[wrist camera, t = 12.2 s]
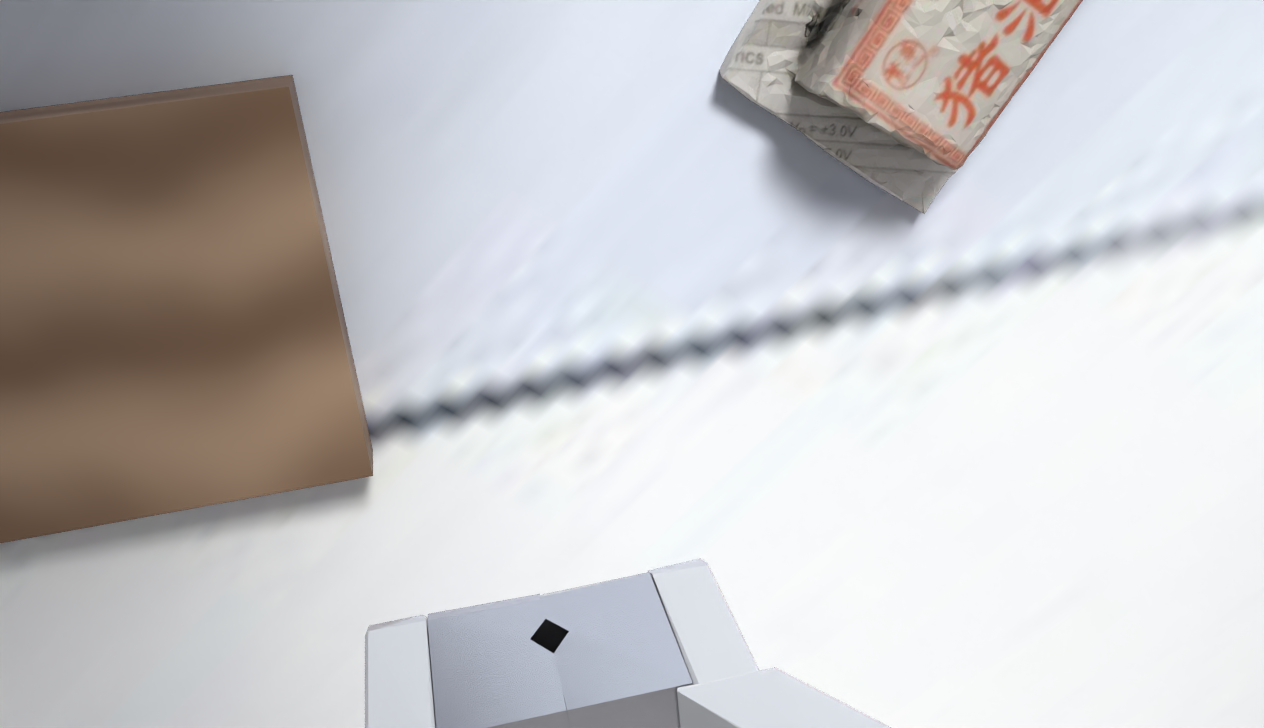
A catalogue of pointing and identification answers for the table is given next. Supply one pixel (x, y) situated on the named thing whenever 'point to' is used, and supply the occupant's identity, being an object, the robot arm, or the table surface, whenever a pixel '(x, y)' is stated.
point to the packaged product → (893, 77)
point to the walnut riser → (167, 310)
